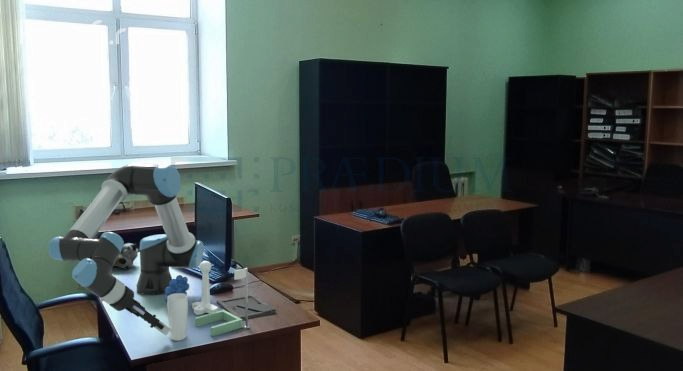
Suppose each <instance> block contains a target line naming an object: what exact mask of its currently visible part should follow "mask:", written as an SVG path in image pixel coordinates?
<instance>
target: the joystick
mask: <svg viewBox="0 0 683 371" xmlns="http://www.w3.org/2000/svg"><path fill="white" fill-rule="evenodd" d="M198 267H199V270H200V271H201V273H202V275H201V276H202V278H201V279H202V280H201V301H196V302H192V303H191V305H192V306H191V309H192V310H193V313H194V314H195V315H196V316H203V315H204V314H206V313H207V314H210V313H214V312H217V311H219V307H218V306H216V305H215V304H212V303H211V294H210V293H211V292H210V278H209V273H210V271H211V269H212V263H211V262H210V261H208V260H203V261H201V263H200V265H199V266H198Z"/></svg>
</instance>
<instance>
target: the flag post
mask: <svg viewBox="0 0 683 371" xmlns="http://www.w3.org/2000/svg"><path fill="white" fill-rule="evenodd" d="M248 270H249V268H248V267H245V268H241V269H237V270H233V274H234V275H233V276H234V277H233V280H235V281H236V280H240V279H243V278H245V286H244V289H245V293H244V294H245V295H244V296H245V319H244V320H245V324H244V325H242V328H243V329H244V330H245V329H246V330H247V329H250V328H251V325H250V324H249V318H248V295H249V294H248V292H249V290H248V289H249V288H248V287H249V286H248V285H249V284H248V283H249V281H248V279H249V278H248V276H249V274H248V273H249V272H248Z"/></svg>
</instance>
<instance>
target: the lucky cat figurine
mask: <svg viewBox="0 0 683 371" xmlns="http://www.w3.org/2000/svg"><path fill="white" fill-rule="evenodd" d="M138 254H139V249H138V248H137V243H130V242H127V243H124V245H123V247H122V250H121V253H120V255H119V256H118V258H117V260H116V262H115V264H114V266H113V267H118V268H121V269H126V270H131V269H132V268H133V267H134V261H135V260H136V259H137V258H138Z"/></svg>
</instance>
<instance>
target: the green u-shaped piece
mask: <svg viewBox="0 0 683 371" xmlns="http://www.w3.org/2000/svg"><path fill="white" fill-rule="evenodd" d="M221 320H224V321H226V322H223V323H219V324H217V325H213V326H210V336H212V337H215V336H218V335H222V334H224V333H228V332H231V331H235V330H238V329H241V328H243V319H241V318H239V317H237V316H235V315H233V314H231V313H229V312H227V311H225V310H224V309H221V310H218V311H217V312H214V313H210V314H209V313H207V314H206V313H205V314H202V315H198V316H196V317H194V326H195V327H199V326H203V325H207V324H211V323H214V322H218V321H221Z"/></svg>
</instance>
